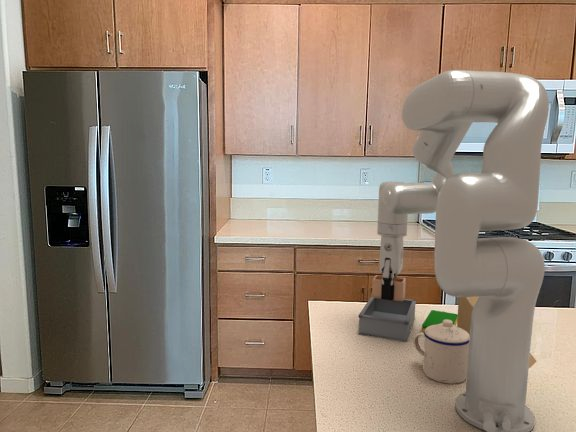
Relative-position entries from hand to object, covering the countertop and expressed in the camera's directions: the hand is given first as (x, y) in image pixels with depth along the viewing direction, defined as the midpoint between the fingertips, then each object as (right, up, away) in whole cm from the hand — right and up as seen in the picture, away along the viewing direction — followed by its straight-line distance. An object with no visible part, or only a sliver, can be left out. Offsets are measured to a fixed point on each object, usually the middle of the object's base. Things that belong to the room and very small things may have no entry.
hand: (388, 295), depth 118 cm
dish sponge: (+14, -9, +1) cm, 17 cm away
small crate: (0, 0, 0) cm, 0 cm away
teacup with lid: (+5, -12, -24) cm, 28 cm away
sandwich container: (+21, -11, -16) cm, 29 cm away
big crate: (0, -8, +1) cm, 8 cm away
